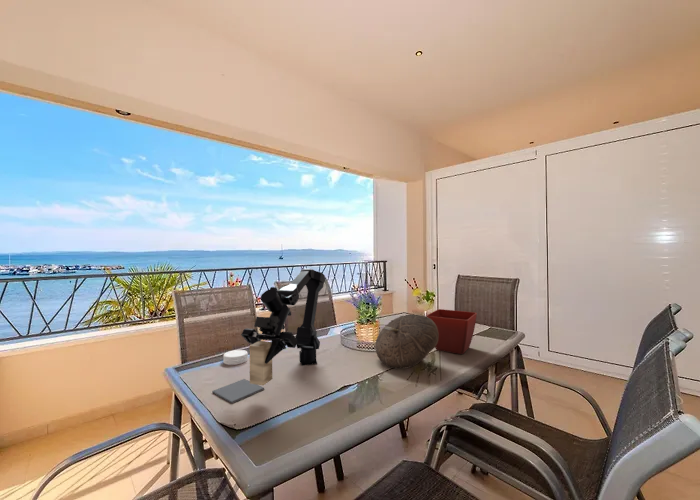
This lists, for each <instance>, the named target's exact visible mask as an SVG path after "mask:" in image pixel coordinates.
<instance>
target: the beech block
mask: <svg viewBox="0 0 700 500" xmlns="http://www.w3.org/2000/svg"><path fill="white" fill-rule="evenodd" d="M271 344H272V341H266V340H261V341H258V342H256V343H254V344H252V345H251V344H250V345H249V381H250V384H257V385H259V386H262V387H264V386H265V385H266V384H268V383H270V382H271V381H272V380H273V358H272V359H271V360H270V361H269V362H268V363H267V364H266V363H265V360H266V357H267V354H268V352H269V350H270V347H271Z"/></svg>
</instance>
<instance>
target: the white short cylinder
mask: <svg viewBox="0 0 700 500" xmlns="http://www.w3.org/2000/svg"><path fill="white" fill-rule="evenodd" d="M248 355H249V354H248V351H247V350H244V349H234V350H229V351H227V352H225V353H224V354H223V355H222V356H223V362H222V363H223V364H224V365H228V366H234V365H235V366H236V365H241V364H243V363H246V362H247V361H248V358H249V356H248Z"/></svg>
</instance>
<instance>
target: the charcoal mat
mask: <svg viewBox="0 0 700 500" xmlns="http://www.w3.org/2000/svg"><path fill="white" fill-rule="evenodd" d="M264 390H265V388H264V386H262V385H257V384H250V380H247V379H246V378H243V379H240V380H237V381H234V382H232V383H229V384H227V385H224V386H221V387H219V388H216V389H214V390H212V393H213V394H214V395H216V396H218V397H219V398H221V399H222V400H225V401H226V402H229V404H230V403H231V404H234V403H236V402H238V401H241V400H244V399H245V398H248V397H250V396H253V395H255V394H257V393H259V392H261V391H264Z"/></svg>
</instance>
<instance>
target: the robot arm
mask: <svg viewBox="0 0 700 500" xmlns="http://www.w3.org/2000/svg"><path fill="white" fill-rule="evenodd" d="M325 283H326V275H325V274H324V273H323V272H321V271H320V272H319V271H316V270H315V269H313V268H302V269H301V270H300V272H299V273H298V274H297V276H296V277H295V278H294V279H292V282H290V283H289V284H287V285H286V286H283V287H281V288H280V289H278V288H277V287H276V286H271V287H270V288H269V289H267V290H265V291H264V292H263V293H262V294H260V301H261V302H262V304H263V305H264V307H265V308H266V309H267V311H268V312H271V313H270V315H269V316H267V317H266V316H256V318H255V322H254V326H253V327H255V328H259V329H258V330H259V331H260V332H261V333H259V332H258V331H257V330H256V329H255V328H249V327H248V328H244V329H243V330H242V332H241V334H240V336H241V337H242V338H243V339H244V340H245V341H246V342H247V343H248V344H250V345H252V344H254V343H256V342H258V341H269V342H272V344H271V347H270V350H269V352H268V354H267V357H266V360H265V363H266V364H267V363H268V362H269V361H270V360H271V359H272V360H273V359H274V358H275V357H276V356H277V355H278V354H279V353H280V352H282V351H284V350H286V349H287V348H292V349H293V348H294V349H295V348H297V349H299V350H300V351H298V352H299V355H298V357H299V363H300V364H301V366H309V365H316V364H318V361H317V350H319V349H320V345H321V341H320V340H319V338H318V336H317V334H318V332H317V329H316V327H315V321H316V313H317V306H318V301H319V300H318V299H319V293H320V292H321V290H322V289H323V288H324V284H325ZM304 287H306V289H307V295H306V301H305V307H304V314H303V320H302V324H301V325H300V326H298V327H297V328H296V335H294V334H293V332H291V331H282V330H285V329H286V326H285V323H286V320H287V319H288V316H290V317H291V316H292V311H291V308H289V307H288V306H295V305H296V304H297V303H298V301H299V299H300V292H301V291H302V290H303V288H304Z"/></svg>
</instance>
